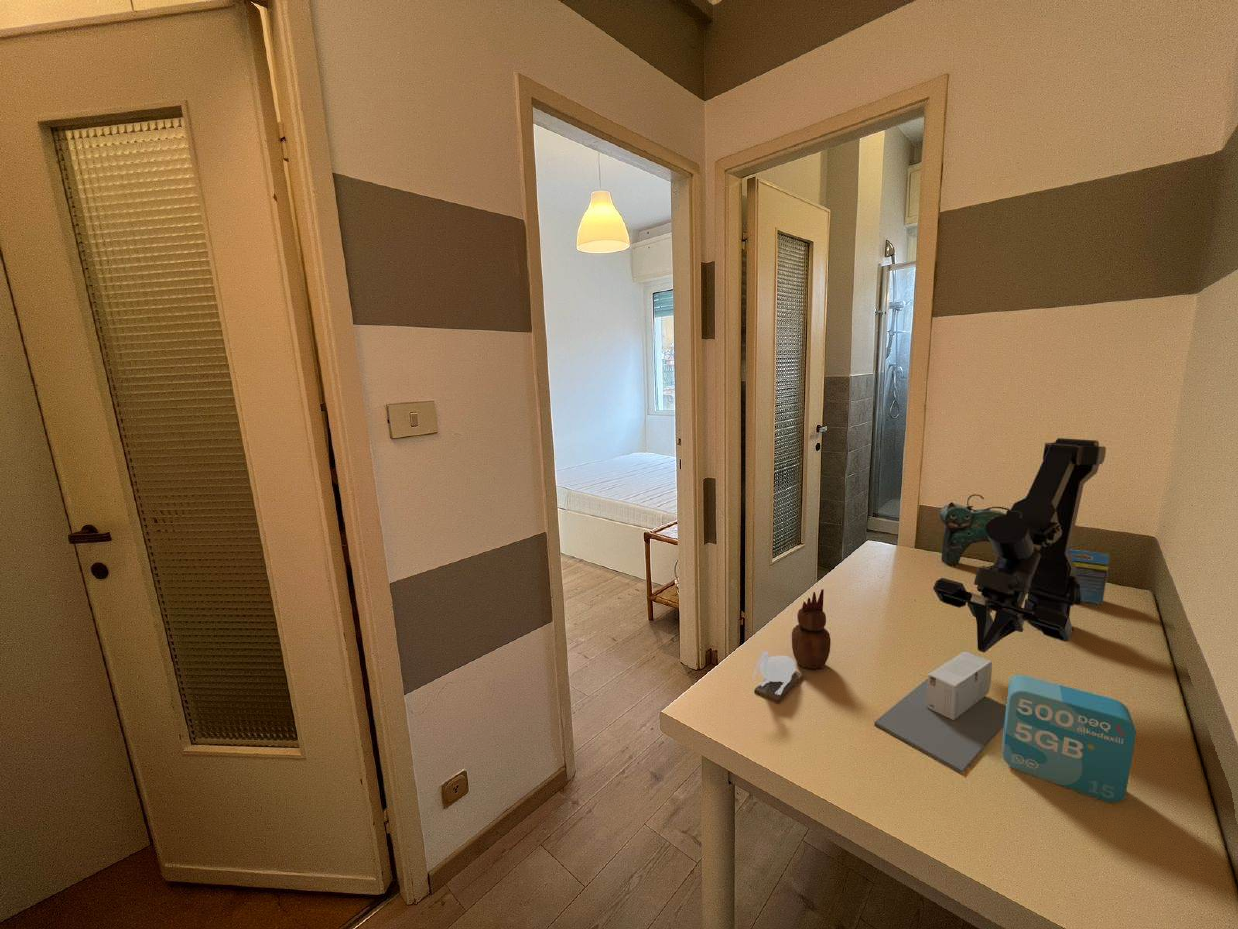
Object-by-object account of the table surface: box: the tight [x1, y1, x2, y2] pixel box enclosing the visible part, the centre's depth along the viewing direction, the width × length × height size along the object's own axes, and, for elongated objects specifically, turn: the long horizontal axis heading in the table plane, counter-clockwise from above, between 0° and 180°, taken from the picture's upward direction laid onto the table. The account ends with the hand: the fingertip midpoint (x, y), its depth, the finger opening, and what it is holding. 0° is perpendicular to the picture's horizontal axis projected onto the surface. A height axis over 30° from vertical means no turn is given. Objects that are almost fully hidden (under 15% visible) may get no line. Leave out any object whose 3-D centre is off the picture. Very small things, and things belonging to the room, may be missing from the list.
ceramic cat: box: [939, 493, 1011, 567], centre depth 134 cm, size 20×6×20 cm, turn 81°
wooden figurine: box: [791, 588, 832, 670], centre depth 91 cm, size 7×6×15 cm
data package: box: [1002, 674, 1137, 804], centre depth 65 cm, size 12×4×12 cm, turn 53°
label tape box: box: [1068, 548, 1110, 606], centre depth 113 cm, size 9×4×12 cm, turn 58°
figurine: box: [752, 651, 804, 704], centre depth 85 cm, size 14×4×9 cm, turn 135°
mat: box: [873, 678, 1006, 774], centre depth 77 cm, size 20×12×1 cm, turn 125°
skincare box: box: [926, 651, 993, 720], centre depth 80 cm, size 6×4×12 cm
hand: (980, 650), depth 83 cm, fingers closed
